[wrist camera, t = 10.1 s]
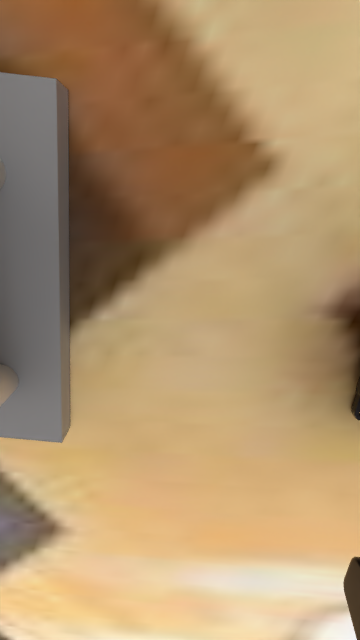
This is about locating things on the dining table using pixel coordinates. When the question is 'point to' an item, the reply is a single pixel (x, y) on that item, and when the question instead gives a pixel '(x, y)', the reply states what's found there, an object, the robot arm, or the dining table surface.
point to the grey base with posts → (34, 259)
